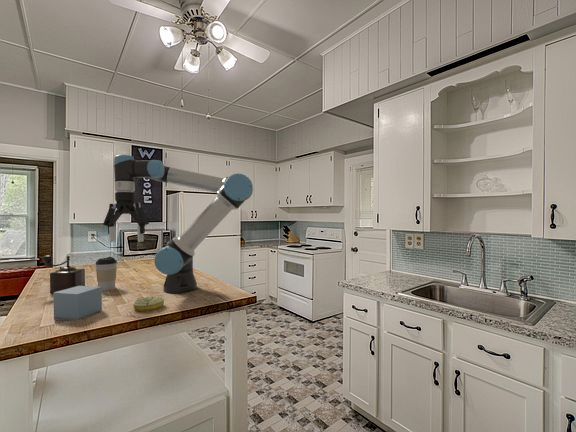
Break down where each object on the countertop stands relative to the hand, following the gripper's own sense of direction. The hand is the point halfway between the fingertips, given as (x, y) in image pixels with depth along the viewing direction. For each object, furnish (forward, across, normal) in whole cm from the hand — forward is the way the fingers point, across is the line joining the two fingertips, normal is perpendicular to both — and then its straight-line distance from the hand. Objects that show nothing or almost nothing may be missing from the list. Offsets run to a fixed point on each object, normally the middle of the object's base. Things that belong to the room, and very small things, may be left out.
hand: (126, 241), depth 129 cm
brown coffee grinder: (+24, -39, +6) cm, 46 cm away
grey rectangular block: (+24, -4, -20) cm, 32 cm away
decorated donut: (+25, +17, -10) cm, 32 cm away
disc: (+24, -4, -20) cm, 32 cm away
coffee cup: (+24, -22, +13) cm, 36 cm away
